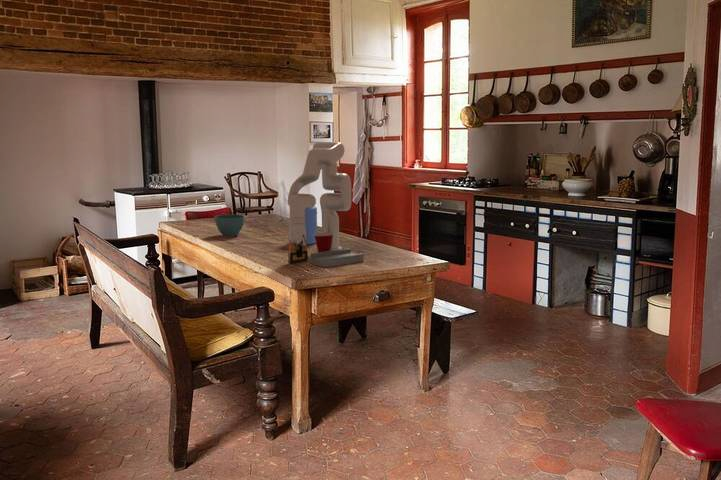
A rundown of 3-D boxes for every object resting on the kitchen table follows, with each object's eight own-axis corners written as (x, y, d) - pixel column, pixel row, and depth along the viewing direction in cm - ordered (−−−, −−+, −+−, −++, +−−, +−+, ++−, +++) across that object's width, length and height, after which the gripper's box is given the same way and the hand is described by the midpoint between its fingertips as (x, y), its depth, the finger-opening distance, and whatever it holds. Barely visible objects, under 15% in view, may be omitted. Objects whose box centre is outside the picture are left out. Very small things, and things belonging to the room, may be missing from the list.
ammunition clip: (290, 263, 327) (289, 239, 325) (288, 262, 329) (287, 239, 326) (308, 260, 334) (307, 237, 331) (306, 259, 335) (305, 236, 333)
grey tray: (311, 263, 328) (310, 253, 328) (349, 257, 343) (349, 248, 342) (324, 267, 319) (324, 257, 318) (363, 261, 334) (363, 251, 333)
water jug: (313, 245, 379) (312, 197, 375) (287, 244, 382) (286, 196, 378) (320, 240, 394) (320, 194, 390) (295, 239, 398) (294, 193, 393)
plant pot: (248, 233, 420) (247, 214, 418) (240, 238, 402) (239, 218, 400) (220, 233, 422) (219, 214, 420) (211, 237, 404) (210, 218, 402)
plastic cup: (323, 252, 356) (323, 231, 354) (338, 255, 350) (338, 233, 348) (309, 255, 348) (309, 233, 346) (324, 258, 341) (324, 235, 339)
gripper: (282, 219, 331) (283, 255, 334) (299, 223, 319) (300, 260, 322) (295, 218, 336) (295, 253, 339) (312, 221, 323) (313, 258, 327)
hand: (298, 256), depth 331 cm, fingers closed on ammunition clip, 2 cm apart
